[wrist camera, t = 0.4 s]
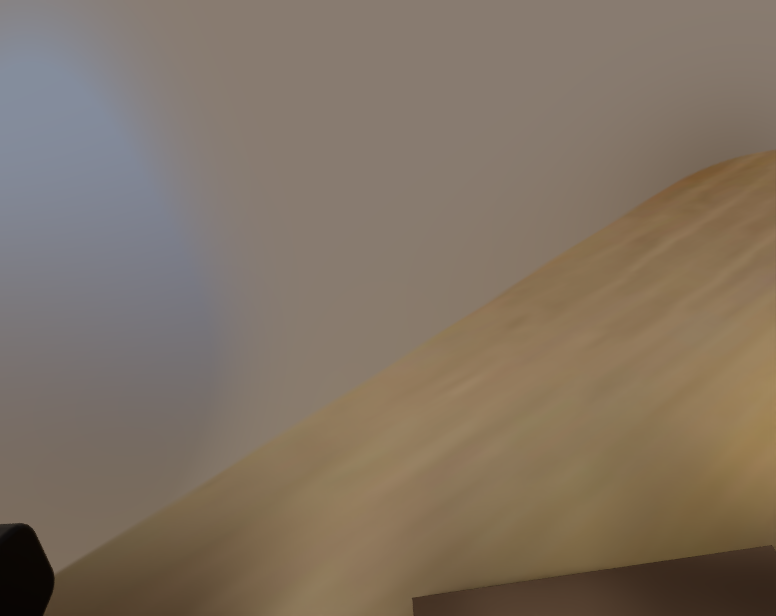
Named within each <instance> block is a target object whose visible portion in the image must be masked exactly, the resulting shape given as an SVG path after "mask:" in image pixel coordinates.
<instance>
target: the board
mask: <svg viewBox="0 0 776 616" xmlns="http://www.w3.org/2000/svg"><path fill="white" fill-rule="evenodd" d="M412 600H413V612H414V616H776V551H775V549H774V548H773V546H772V545H770V546H763V547H756V548H750V549H743V550H736V551H729V552H722V553H715V554H709V555H702V556H695V557H688V558H681V559H674V560H668V561H661V562H654V563H647V564H640V565H633V566H627V567H620V568H613V569H606V570H599V571H593V572H586V573H579V574H572V575H565V576H558V577H552V578H545V579H538V580H531V581H524V582H517V583H511V584H504V585H497V586H490V587H483V588H476V589H470V590H463V591H456V592H449V593H442V594H435V595H429V596H422V597H415V598H412Z"/></svg>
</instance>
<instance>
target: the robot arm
mask: <svg viewBox="0 0 776 616" xmlns="http://www.w3.org/2000/svg"><path fill="white" fill-rule="evenodd" d="M54 580H55V578H54V572H53V569H52V567H51V565H50V563H49V561H48V559H47V556H46V554H45V553H44V550H43V548H42V546H41V544H40V542H39V540H38V537H37V535H36V533H35V531H34V530H33V529H32V528H31V527H30V526H29V525H27V524H23V523H15V524H0V616H43V615H44V612H45V610H46V607H47V605H48V603H49V600H50V598H51V595H52V593H53V589H54Z"/></svg>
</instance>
